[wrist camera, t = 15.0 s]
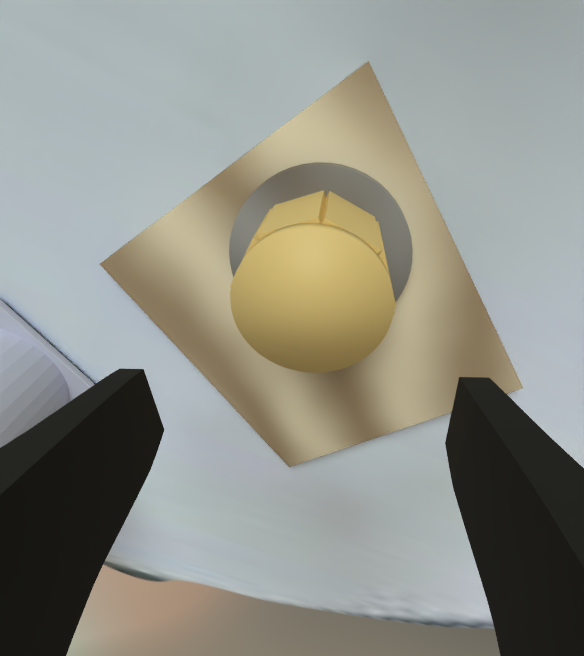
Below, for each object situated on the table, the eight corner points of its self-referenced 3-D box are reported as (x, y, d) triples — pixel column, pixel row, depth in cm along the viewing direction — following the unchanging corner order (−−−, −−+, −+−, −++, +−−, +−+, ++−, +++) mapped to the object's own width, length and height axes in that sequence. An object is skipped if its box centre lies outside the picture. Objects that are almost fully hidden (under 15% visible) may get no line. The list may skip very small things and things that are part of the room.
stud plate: (290, 456, 25) (283, 504, 22) (108, 257, 19) (66, 289, 16) (517, 377, 20) (545, 427, 17) (367, 61, 13) (372, 57, 11)
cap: (411, 237, 15) (430, 282, 12) (340, 335, 18) (338, 394, 15) (289, 167, 14) (272, 195, 11) (234, 282, 17) (207, 331, 14)
